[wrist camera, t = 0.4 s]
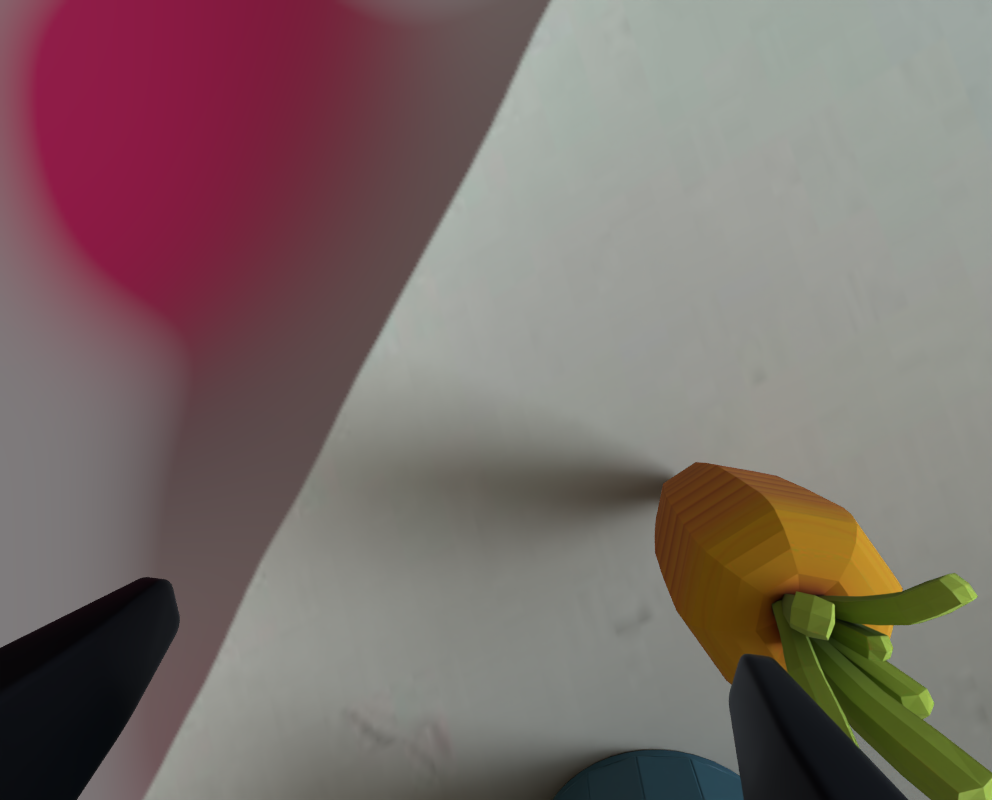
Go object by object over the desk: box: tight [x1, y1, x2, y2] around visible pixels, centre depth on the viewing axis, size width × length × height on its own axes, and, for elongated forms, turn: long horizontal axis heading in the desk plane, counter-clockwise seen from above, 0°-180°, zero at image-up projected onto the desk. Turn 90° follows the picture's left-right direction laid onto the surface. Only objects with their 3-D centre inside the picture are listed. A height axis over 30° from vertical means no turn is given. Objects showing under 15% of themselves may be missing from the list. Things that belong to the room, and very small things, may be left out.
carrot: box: [655, 462, 992, 800], centre depth 16 cm, size 5×5×15 cm
